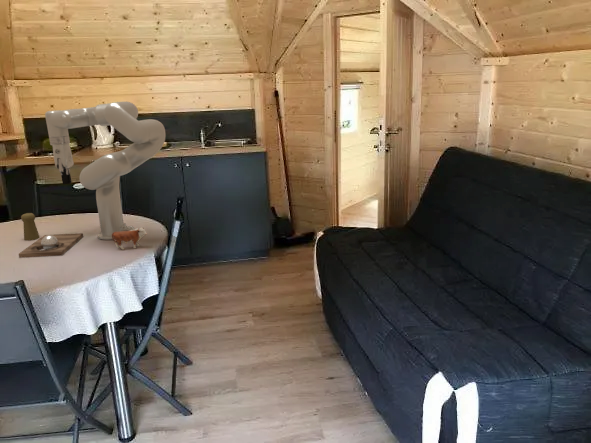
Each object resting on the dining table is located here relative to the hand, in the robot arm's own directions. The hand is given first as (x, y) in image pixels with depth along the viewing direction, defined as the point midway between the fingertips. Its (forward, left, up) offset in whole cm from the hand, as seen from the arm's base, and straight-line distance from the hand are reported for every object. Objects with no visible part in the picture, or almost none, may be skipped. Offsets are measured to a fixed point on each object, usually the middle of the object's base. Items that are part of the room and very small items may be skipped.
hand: (67, 183), depth 209 cm
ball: (+2, +21, -19) cm, 29 cm away
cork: (+17, +4, -23) cm, 28 cm away
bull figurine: (-30, +24, -23) cm, 45 cm away
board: (+3, +17, -22) cm, 28 cm away
